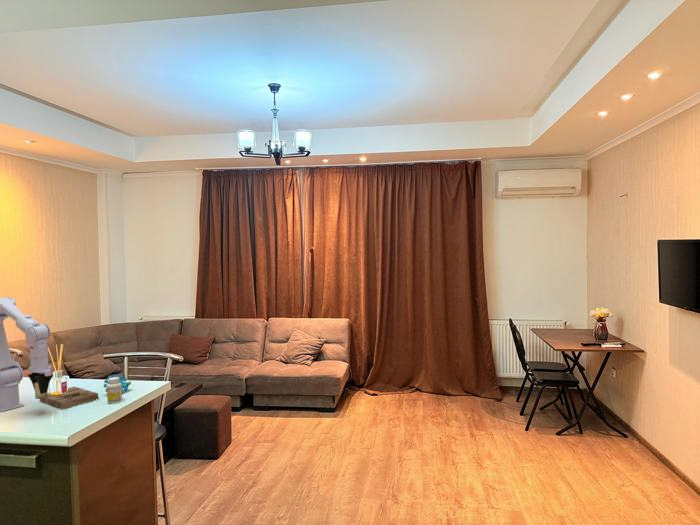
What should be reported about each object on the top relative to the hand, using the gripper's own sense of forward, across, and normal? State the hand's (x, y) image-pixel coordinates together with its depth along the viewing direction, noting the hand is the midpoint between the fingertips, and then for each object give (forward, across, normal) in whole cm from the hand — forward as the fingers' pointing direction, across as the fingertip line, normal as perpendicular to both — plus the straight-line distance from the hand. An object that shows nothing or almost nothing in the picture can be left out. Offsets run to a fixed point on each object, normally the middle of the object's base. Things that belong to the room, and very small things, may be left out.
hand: (41, 392), depth 184 cm
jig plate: (+8, +7, -13) cm, 17 cm away
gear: (+8, -2, -29) cm, 30 cm away
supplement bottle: (+8, -12, -22) cm, 26 cm away
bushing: (+2, 0, 0) cm, 2 cm away
